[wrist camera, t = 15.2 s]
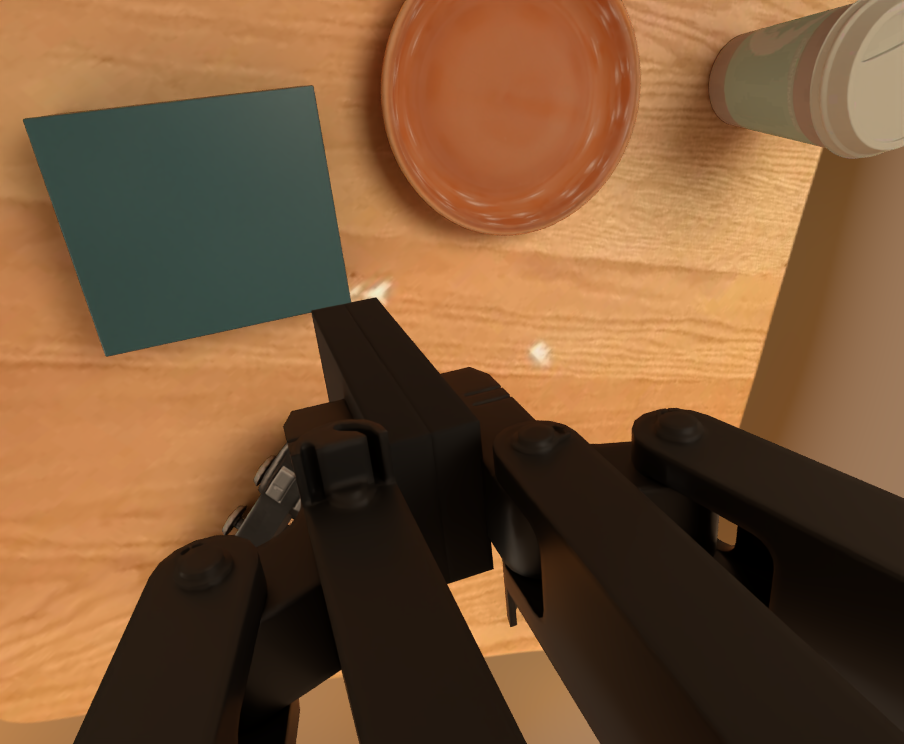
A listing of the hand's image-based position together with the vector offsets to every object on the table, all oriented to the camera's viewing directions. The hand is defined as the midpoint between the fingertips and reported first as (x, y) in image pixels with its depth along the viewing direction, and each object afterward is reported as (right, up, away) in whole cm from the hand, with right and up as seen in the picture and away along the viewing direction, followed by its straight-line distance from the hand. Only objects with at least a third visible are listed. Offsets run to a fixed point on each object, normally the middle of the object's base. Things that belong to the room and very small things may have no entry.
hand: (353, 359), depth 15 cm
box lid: (-10, +7, +19) cm, 23 cm away
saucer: (+5, +17, +25) cm, 31 cm away
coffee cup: (+22, +20, +30) cm, 42 cm away
